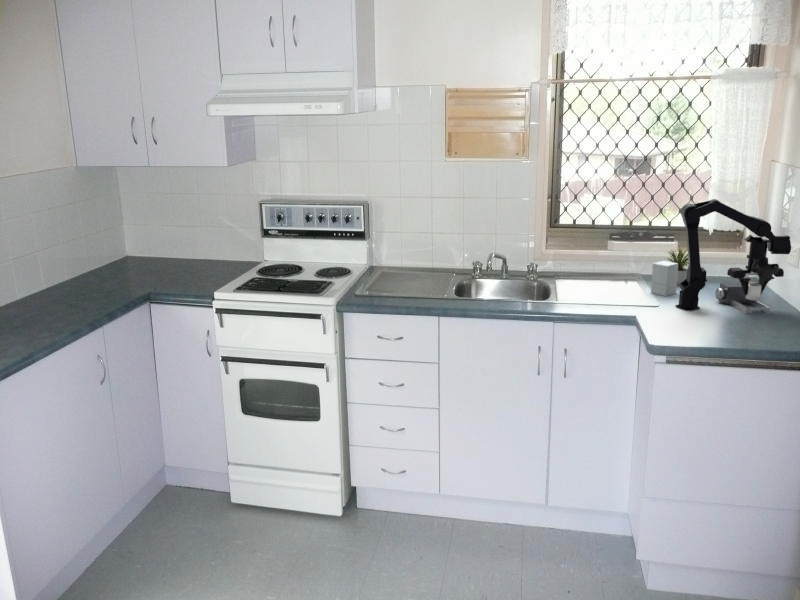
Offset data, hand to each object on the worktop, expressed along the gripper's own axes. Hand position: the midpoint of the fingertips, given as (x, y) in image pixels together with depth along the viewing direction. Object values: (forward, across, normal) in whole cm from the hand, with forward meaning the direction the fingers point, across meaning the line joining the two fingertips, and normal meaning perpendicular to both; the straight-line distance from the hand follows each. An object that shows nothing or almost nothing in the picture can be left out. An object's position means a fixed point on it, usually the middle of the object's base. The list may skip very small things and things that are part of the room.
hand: (752, 294), depth 267 cm
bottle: (+2, 0, 0) cm, 2 cm away
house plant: (+6, -11, +40) cm, 42 cm away
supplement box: (+6, -22, +27) cm, 35 cm away
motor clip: (+6, -1, +4) cm, 7 cm away
